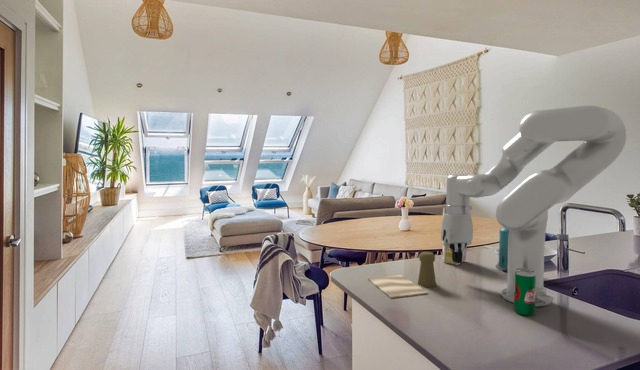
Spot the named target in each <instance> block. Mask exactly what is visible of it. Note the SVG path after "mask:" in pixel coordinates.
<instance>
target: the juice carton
mask: <svg viewBox="0 0 640 370" xmlns="http://www.w3.org/2000/svg"><path fill="white" fill-rule="evenodd" d="M444 214H446V207H443V208H442V217H443V216H444ZM441 241H442V240H441ZM443 242H444V241H442V242H441V243H442V245H441V247H442V251H441V252H442V262H443V263H445V264H449V265H450V264H451V265H456V266H459V265H461V264H462V263H464V262H466V259H467V250H468V249H467V246H466V247H465V248H464V251H463V252H462V263H456V262H453V261H452V250H451V249H450V248H449V247H446V246H443Z"/></svg>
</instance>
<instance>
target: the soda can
mask: <svg viewBox="0 0 640 370" xmlns="http://www.w3.org/2000/svg"><path fill="white" fill-rule="evenodd" d="M535 293H536V275H535V273H534V270H531V269H527V268H517V269H516V272H515V279H514V303H513V310H514V311H515V313H516V314H518V315H521V316H525V317H531V316H533V315H535V314H536V306H535Z"/></svg>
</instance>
